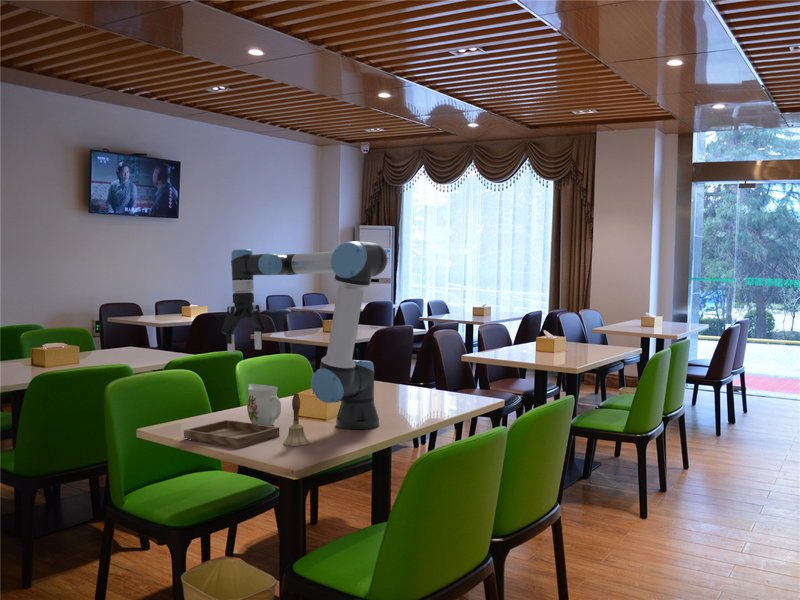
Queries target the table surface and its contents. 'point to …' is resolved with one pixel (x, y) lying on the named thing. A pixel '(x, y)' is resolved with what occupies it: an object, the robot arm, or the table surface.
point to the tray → (232, 433)
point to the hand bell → (296, 427)
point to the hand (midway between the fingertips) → (245, 351)
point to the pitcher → (263, 404)
